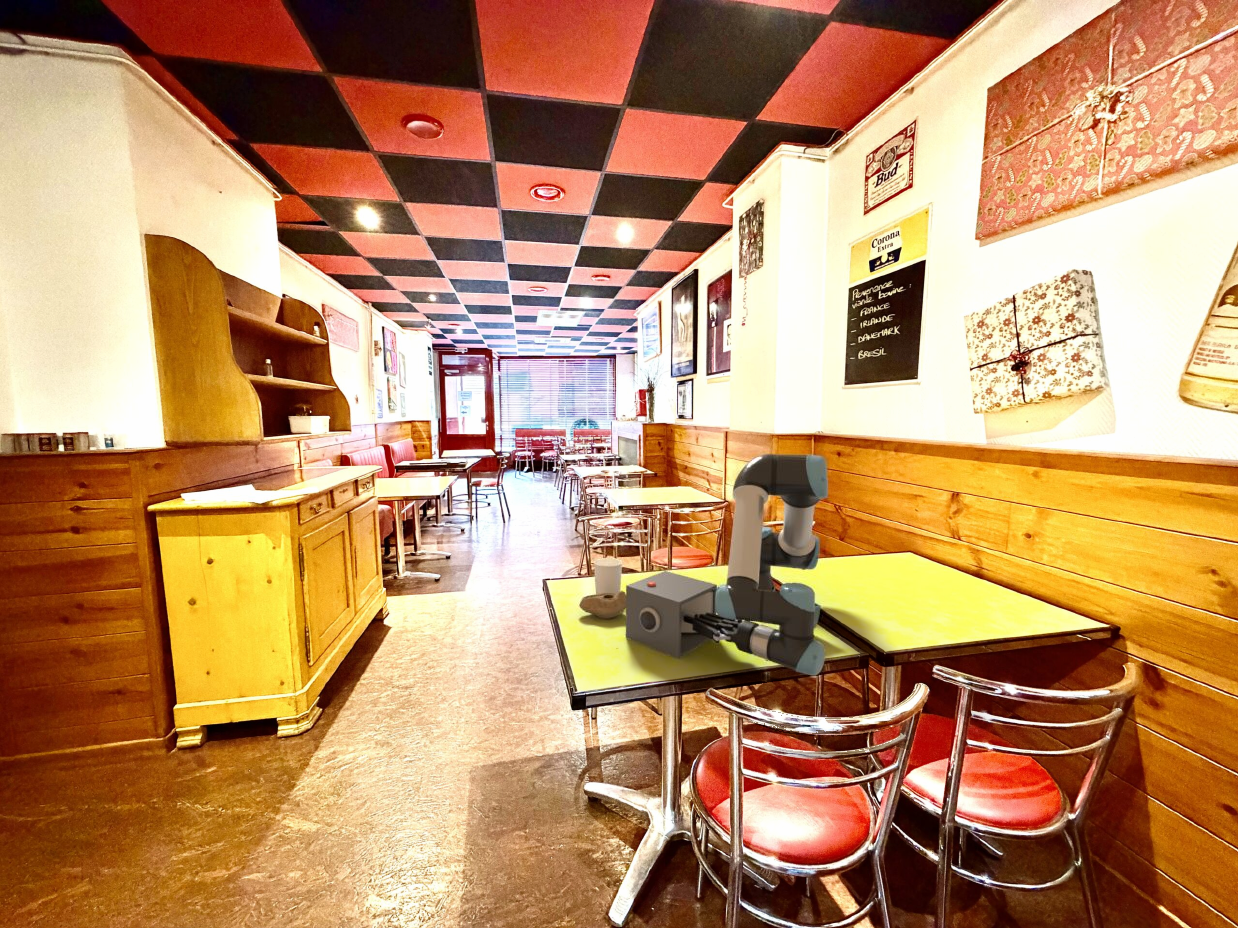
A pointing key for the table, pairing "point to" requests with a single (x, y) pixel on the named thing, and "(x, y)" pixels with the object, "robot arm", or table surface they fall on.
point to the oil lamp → (604, 604)
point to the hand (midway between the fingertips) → (677, 613)
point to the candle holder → (608, 575)
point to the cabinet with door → (664, 612)
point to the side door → (697, 609)
